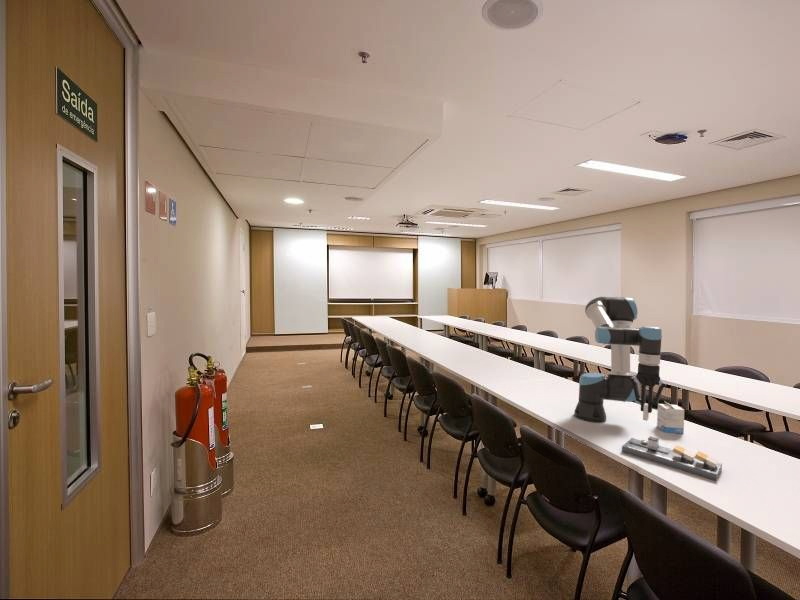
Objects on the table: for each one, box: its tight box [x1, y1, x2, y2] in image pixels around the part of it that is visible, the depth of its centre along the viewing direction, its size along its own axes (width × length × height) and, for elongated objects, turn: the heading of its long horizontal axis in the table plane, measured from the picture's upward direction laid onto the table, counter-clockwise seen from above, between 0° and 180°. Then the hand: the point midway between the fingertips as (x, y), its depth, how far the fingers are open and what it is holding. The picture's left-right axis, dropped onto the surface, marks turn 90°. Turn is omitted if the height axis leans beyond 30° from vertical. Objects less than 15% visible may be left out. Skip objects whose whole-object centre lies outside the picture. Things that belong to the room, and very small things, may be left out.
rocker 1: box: [672, 444, 696, 461], centre depth 151 cm, size 6×6×2 cm
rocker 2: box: [695, 450, 719, 468], centre depth 146 cm, size 6×6×2 cm
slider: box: [647, 436, 660, 450], centre depth 159 cm, size 3×3×4 cm
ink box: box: [656, 400, 685, 434], centre depth 187 cm, size 9×8×13 cm
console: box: [621, 437, 723, 482], centre depth 154 cm, size 31×13×4 cm, turn 43°
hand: (645, 419), depth 160 cm, fingers closed
